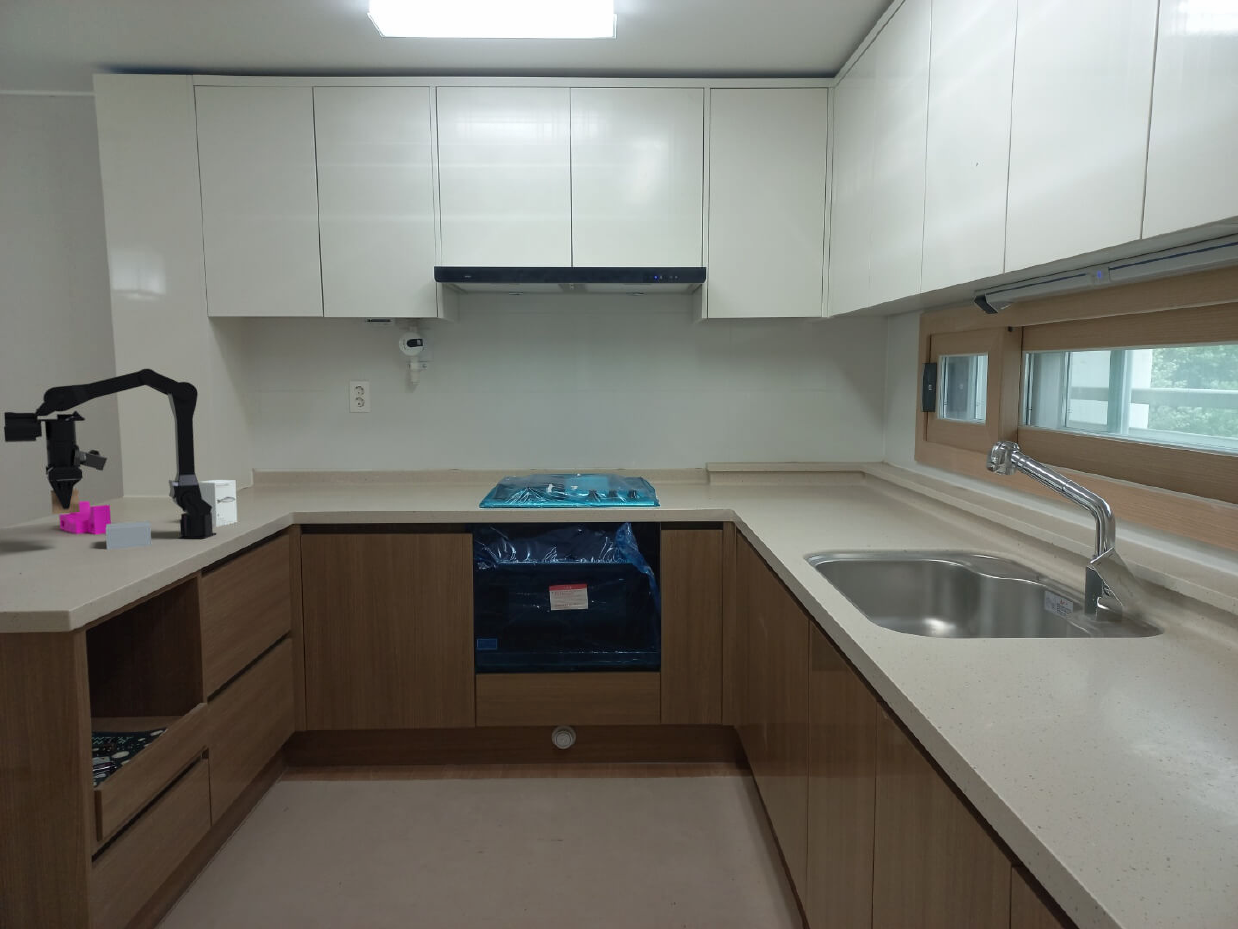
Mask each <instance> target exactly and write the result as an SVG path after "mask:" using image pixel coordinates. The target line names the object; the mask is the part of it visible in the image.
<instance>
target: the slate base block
mask: <svg viewBox="0 0 1238 929" xmlns="http://www.w3.org/2000/svg"><path fill="white" fill-rule="evenodd" d="M151 530H152V529H151V522H150V520H142V521H130V522H128V521H127V522H118V523H111V524H107V525H106V533H105V537H106V538H105V542H106V550H113V549H125V548H137V547H147V546H152V536H151V535H152V532H151Z"/></svg>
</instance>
